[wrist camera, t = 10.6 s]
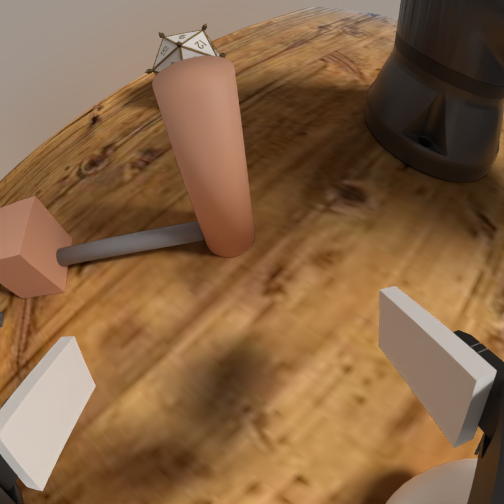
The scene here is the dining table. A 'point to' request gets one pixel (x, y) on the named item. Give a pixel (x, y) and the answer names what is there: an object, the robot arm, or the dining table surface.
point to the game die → (183, 48)
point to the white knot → (438, 485)
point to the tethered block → (192, 170)
